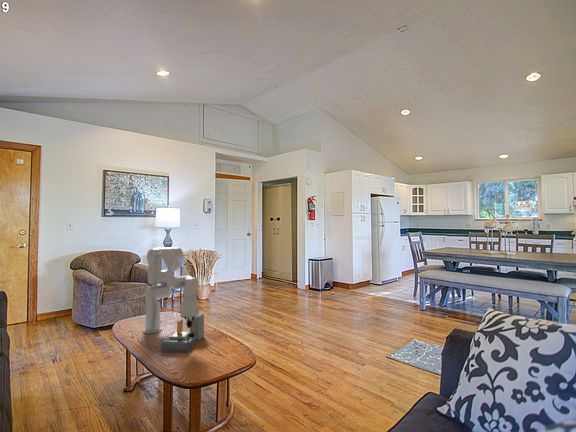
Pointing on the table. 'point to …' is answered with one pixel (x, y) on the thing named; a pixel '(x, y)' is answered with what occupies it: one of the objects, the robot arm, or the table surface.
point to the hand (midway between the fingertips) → (189, 327)
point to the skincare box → (198, 326)
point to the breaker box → (179, 342)
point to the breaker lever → (179, 326)
